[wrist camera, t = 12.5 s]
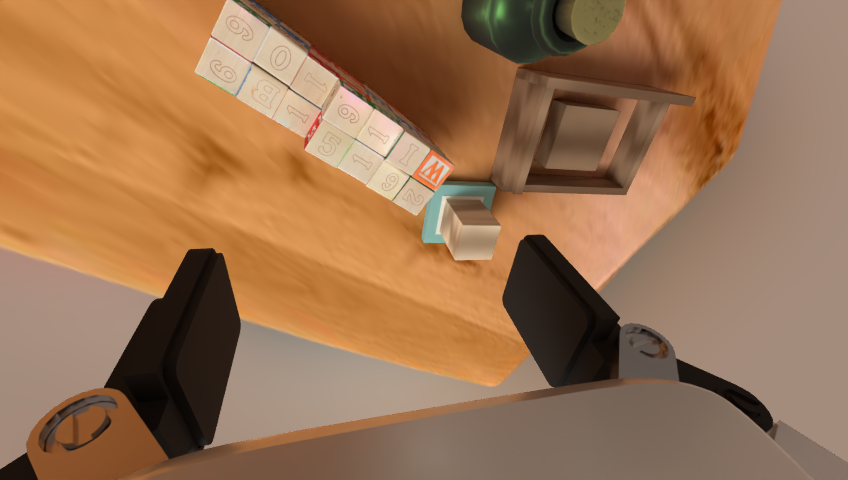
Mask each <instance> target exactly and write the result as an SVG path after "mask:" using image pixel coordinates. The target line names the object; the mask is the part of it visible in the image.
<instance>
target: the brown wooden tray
mask: <svg viewBox="0 0 848 480" xmlns="http://www.w3.org/2000/svg"><path fill="white" fill-rule="evenodd" d="M555 89H559V90H566V91H574V92H582V93H590V94H598V95H606V96H613V97H621V98H629V99H637V100H638V103H637V105H636V107H635V110H634V112H633V114H632V117H631V119H630V121H629V123H628V126H627V128H626V130H625V133H624V135H623V137H622V139H621V142H620V144H619V146H618V149H617V151H616V153H615V155H614V158H613V160H612V162H611V165H610V167H609V169H608V171H607V174H606V176H605V178H604V177H583V176H562V175H541V174H528V173H529V170H530V166H531V163H532V160H533V157H534V154H535V150H536V147H537V144H538V141H539V138H540V134H541V131H542V128H543V125H544V122H545V119H546V115H547V112H548V109H549V106H550V103H551V99H552V96H553V93H554V90H555ZM695 99H696V97H691V96H687V95H683V94H679V93H675V92H670V91H666V90H662V89H658V88H654V87H649V86H642V85H635V84H628V83H621V82H614V81H607V80H600V79H593V78H585V77H578V76H571V75H564V74H557V73H550V72H543V71H536V70H529V69H522V68H518V70H517V74H516V78H515V82H514V86H513V90H512V94H511V98H510V102H509V106H508V110H507V113H506V117H505V121H504V125H503V129H502V133H501V137H500V141H499V145H498V149H497V153H496V157H495V161H494V164H493V168H492V172H491V176H490V180H491V181H492V182H493V183H494V184H495V185H496V186H497V187H498V188H499V189H500V190H501V191H512V192H513V193H514V194H522V192H545V193H576V194H607V195H626V194H627V191H628V189H629V187H630V185H631V183H632V181H633V179H634V177H635V175H636V173H637V171H638V169H639V167H640V165H641V163H642V160H643V158H644V156H645V154H646V152H647V150H648V148H649V146H650V144H651V142H652V140H653V138H654V136H655V134H656V132H657V129H658V127H659V125H660V123H661V121H662V119H663V117H664V115H665V113H666V111H667V109H668V107H669V105H670V104H676V105H684V106H692V105H693V103H694V101H695ZM619 114H620V111H618V110H615V109H612V108H610V107H607V106H602V105H593V104H585V103H576V102H568V101H559V100H553V103H552V106H551V109H550V112H549V115H548V118H547V122H546V125H545V128H544V131H543V134H542V137H541V140H540V144H539V147H538V150H537V153H536V156H535V159H534V161H536V162H537V163H539V164H540V165H541V166H543V167H544V168H547V169H566V170H584V171H596V169H597V166H598V164H599V161H600V159H601V157H602V154H603V152H604V149H605V147H606V145H607V142H608V140H609V137H610V135H611V133H612V130H613V128H614V126H615V123H616V121H617V118H618V116H619Z"/></svg>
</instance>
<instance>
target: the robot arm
mask: <svg viewBox="0 0 848 480" xmlns="http://www.w3.org/2000/svg"><path fill="white" fill-rule="evenodd" d="M502 300H503V305H504V307H505V309H506V311H507V312H508V314H509V316H510V318H511V319H512V321H513V323H514V325H515V326H516V328H517V330H518V331H519V333H520V335H521V337H522V338H523V340H524V342H525V344H526V345H527V347H528V349H529V350H530V352H531V354H532V356H533V357H534V359H535V361H536V363H537V364H538V366H539V368H540V369H541V371H542V373H543V374H544V376H545V378H546V380H547V381H548V383H549V385H551V386H552V387H555V388H549V389H543V390H537V391H531V392H524V393H518V394H513V395H506V396H500V397H493V398H488V399H481V400H475V401H469V402H464V403H457V404H451V405H446V406H440V407H433V408H427V409H422V410H416V411H410V412H404V413H398V414H392V415H386V416H380V417H374V418H369V419H363V420H357V421H352V422H345V423H340V424H334V425H329V426H322V427H317V428H311V429H305V430H299V431H294V432H289V433H283V434H278V435H273V436H267V437H262V438H257V439H251V440H246V441H241V442H236V443H230V444H226V445H222V446H217V447H213V448H209V449H204V446H205V445H209V444H211V443H212V441H213V438H214V434H215V431H216V427H217V423H218V418H219V414H220V410H221V406H222V402H223V398H224V394H225V390H226V386H227V382H228V378H229V374H230V370H231V366H232V362H233V358H234V354H235V350H236V346H237V342H238V338H239V334H240V327H241V323H240V317H239V313H238V310H237V306H236V302H235V298H234V294H233V290H232V287H231V283H230V279H229V275H228V271H227V267H226V264H225V260H224V256H223V254H222V253H216V251H215V250H214V249H213V248H207V249H190V250H188V252H187V253H186V255H185V257H184V259H183V261H182V263H181V265H180V267H179V269H178V270H177V272H176V274H175V276H174V278H173V280H172V282H171V284H170V286H169V287H168V289H167V291H166V293H165V295H164V297H163V298H161V299H156V300H154V301H153V302H152V303H151V304H150V306H149V308H148V309H147V311H146V313H145V315H144V316H143V318H142V320H141V322H140V324H139V325H138V327H137V329H136V331H135V332H134V334H133V336H132V338H131V340H130V341H129V343H128V345H127V347H126V349H125V350H124V352H123V354H122V356H121V358H120V359H119V361H118V363H117V365H116V367H115V368H114V370H113V372H112V374H111V376H110V377H109V379H108V381H107V383H106V385H105V386H104V388H100V389H93V390H89V391H86V392H82V393H80V394H78V395H75V396H73V397H71V398H69V399H67V400H65V401H64V402H62V403H60V404H59V405H57V406H56V407H54V408H53V409H52V410H50V411H49V412H48V413H47V414H46V415H45V416H44V417H43V418H42V419H41V420H40V421H39V422H38V423H37V424H36V426H35V427H34V428H33V430H32V431H31V433H30V435H29V438H28V440H27V443H26V447H27V453H25V454H23V455H22V456H20V457H19V458H17V459H16V460H14V461H13V462H11V463H9V464H8V465H6V466H5V467H3V468H2V469H0V480H848V463H847V462H846V461H844V460H843V459H841V458H839V457H838V456H836V455H835V454H833V453H832V452H830V451H828V450H827V449H825V448H823V447H822V446H820V445H819V444H817V443H816V442H814V441H812V440H811V439H809V438H808V437H806V436H804V435H803V434H801V433H800V432H798V431H796V430H795V429H793V428H791V427H790V426H788V425H787V424H785V423H783V422H782V421H780V420H779V421H778V422H777V423H774V422H773V419H772V417H771V415H770V413H769V411H768V410H767V409H766V407H765V406H764V405H763V404H762V403H761V402H760V401H759V400H758V399H757V398H756V397H755V396H754V395H752V394H751V393H750V392H748V391H746V390H744V389H743V388H741V387H739V386H737V385H735V384H733V383H731V382H728V381H726V380H724V379H722V378H719V377H717V376H715V375H713V374H710V373H708V372H706V371H704V370H701V369H699V368H697V367H694V366H692V365H690V364H688V363H685V362H683V361H681V360H679V359H676V356H675V352H674V349H673V347H672V345H671V344H670V343H669V341H668V340H666V338H665V337H663V336H662V335H661V334H660V333H658V332H657V331H655V330H653V329H651V328H649V327H647V326H644V325H640V324H633V323H630V324H625V325H624V326H623V327H620V326H619V324H618V323H617V322H618V321H619V319H620V317H619V316H618V315H617V314H616V313H615V312H614V311H613V310H612V308H611V307H610V306H609V305H608V304H607V303H606V302H605V301H604V300H603V299H602V298H601V296H600V295H599V294H598V293H597V292H596V291H595V290H594V289H593V288H592V287H591V286H590V284H589V283H588V282H587V281H586V280H585V279H584V278H583V277H582V276H581V275H580V274H579V272H578V271H577V270H576V269H575V268H574V267H573V266H572V265H571V264H570V263H569V262H568V260H567V259H566V258H565V257H564V256H563V255H562V254H561V253H560V252H559V251H558V250H557V248H556V247H555V246H554V245H553V244H552V243H551V242H550V241H549V240H548V239H547V238H546V236H544V235H527V236H525V237H524V239H523V240H521V241H520V243H519V246H518V249H517V252H516V255H515V258H514V262H513V265H512V268H511V271H510V274H509V277H508V281H507V284H506V287H505V290H504V293H503V297H502ZM203 449H204V450H203Z"/></svg>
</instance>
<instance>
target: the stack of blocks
mask: <svg viewBox="0 0 848 480" xmlns="http://www.w3.org/2000/svg"><path fill="white" fill-rule="evenodd" d="M195 73H197V74H198V75H199V76H201V77H203V78H205V79H206V80H208V81H210V82H211V83H213V84H215V85H217V86H218V87H220V88H221V89H223V90H225V91H227V92H229V93H230V94H232V95H235V96H236V98H238V99H239V100H241V101H242V102H244V103H246V104H247V105H249V106H251V107H252V108H254V109H256V110H258V111H259V112H261V113H263V114H264V115H266V116H268V117H269V118H272V119H273V120H274V121H276V122H277V123H279V124H281V125H282V126H284V127H286V128H287V129H289V130H291V131H293V132H294V133H296V134H298V135H300V136H302V137H304V138H305V145H304V150H305V151H307V152H309V153H310V154H312V155H314V156H316V157H318V158H319V159H321V160H323V161H325V162H326V163H328V164H330V165H331V166H333V167H335V168H339V169H340V170H342V171H343V172H345V173H347V174H349V175H350V176H352V177H354V178H356V179H357V180H359V181H361V182H362V183H365V184H366V186H367V187H369V188H371V189H372V190H374V191H376V192H377V193H379V194H381V195H383V196H384V197H386V198H388V199H389V200H392V201H393V202H394V203H395V204H397V205H399V206H400V207H402V208H404V209H405V210H407V211H409V212H410V213H412V214H414V215H418V213H419V212H420V211H421V209H422V208H423V207H424V206H425V205H426V203H427V202H428V201H429V200H430V199H431V197H432V196H433V195H434V191H436V190H437V189H438V188H439V187H440V186H441V185H442V183H443V182H444V181H445V179H446V178H447V177H448V176H449V174H450V173H451V172H452V170H453V169H454V168H455V165H454V164H453V163H452V162H451V161H450V160H449V159H448V158H447V157H446V156H445V154H444V153H443V152H442V151H441V150H440V149H439V148H438V147H437V146H436V145H435V144H434V143H433V142H432V141H431V140H430V138H429V136H428V135H427V134H426V133H425V132H424V131H423V130H421V129H420V128H419V127H418V126H416V125H415V124H414V123H412V122H411V121H410V120H409V119H407V118H406V117H405V116H404V115H403V114H402V113H401V112H399V111H398V110H397V109H395V108H394V107H393V106H392V105H390V104H389V103H388V102H386V101H385V100H384V99H383V98H381V97H380V96H379V95H378V94H376V93H375V92H374V91H372V90H371V89H370V88H369V87H367V86H366V85H365V84H363V83H360V82H359V81H358V80H356V79H355V78H354V77H352V76H351V75H350V74H348V73H347V72H346V71H344V70H343V69H342V68H341V67H339V66H337V65H335V64H334V63H333V62H332V61H330V60H329V59H328V58H327V57H325V56H324V55H323V54H321V53H320V52H319V51H317V50H316V49H315V48H313V47H312V46H311V44H310V43H309V42H308V41H306V40H305V39H304V38H303V37H301V36H300V35H299V34H297V33H296V32H295V31H293V30H292V29H291V28H290V27H288V26H287V25H286V24H284V23H283V22H281V21H279V20H278V19H277V18H276V17H274V16H273V15H272V14H270V13H269V12H268V11H267V10H265V9H264V8H263V7H261V6H260V5H259V4H257V3H256V2H255V1H253V0H227V1H226V3H225V5H224V7H223V9H222V11H221V14H220V16H219V18H218V20H217V22H216V24H215V27H214V29H213V31H212V33H211V37H210V39H209V42H208V44H207V46H206V48H205V50H204V52H203V54H202V57H201V59H200V61H199V63H198V65H197V67H196V70H195Z"/></svg>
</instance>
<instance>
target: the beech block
mask: <svg viewBox="0 0 848 480" xmlns="http://www.w3.org/2000/svg"><path fill="white" fill-rule="evenodd" d="M500 229H501V225H500V223H499V222H498V221H497V220H496V219H495V217H494V216H493V215H492V214H491V213H490V211H489V210H488V209H487V208H486V206H485V205H484V204H483V203H482V202H481V200H462V199H446V201H445V206H444V211H443V216H442V221H441V226H440V233H441V235H442V237H443V239H444V240H445V242H446V244H447V246H448V248H449V250H450V252H451V254H452V256H453V257H454V259H455V260H483V259H492V255H493V252H494V249H495V245H496V242H497V239H498V235H499V232H500Z"/></svg>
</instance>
